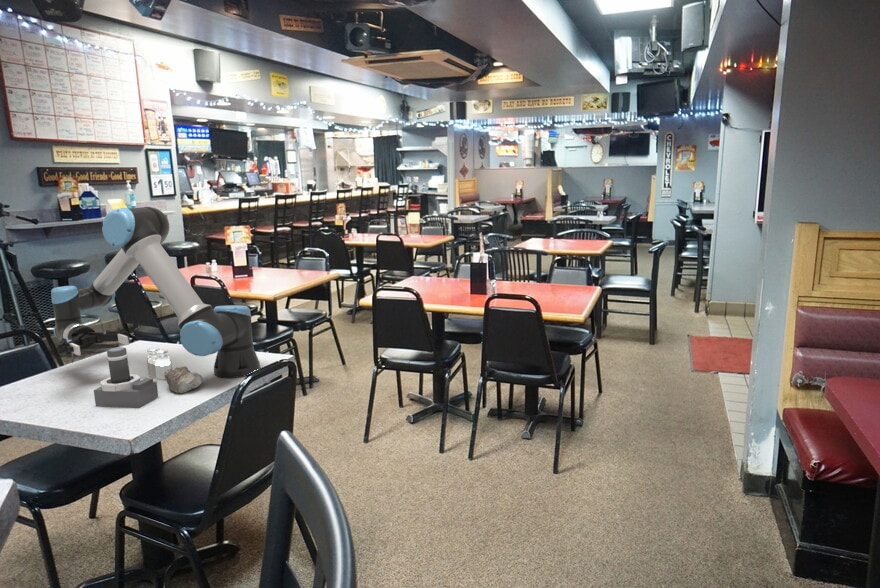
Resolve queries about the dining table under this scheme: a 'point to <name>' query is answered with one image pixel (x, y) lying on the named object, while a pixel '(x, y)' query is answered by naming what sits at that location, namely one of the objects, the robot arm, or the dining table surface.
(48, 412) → the dining table surface
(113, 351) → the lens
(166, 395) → the dining table surface
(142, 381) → the pen holder base
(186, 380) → the grey brown rock
